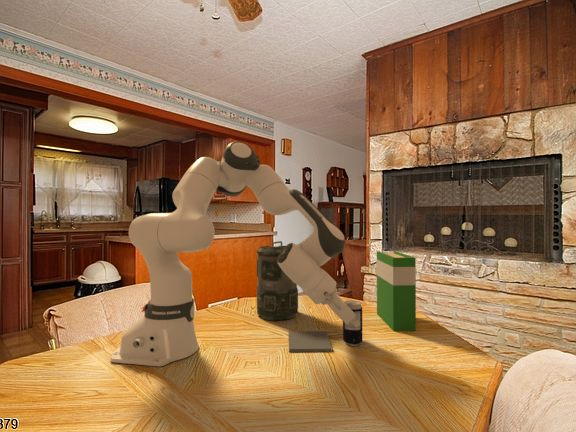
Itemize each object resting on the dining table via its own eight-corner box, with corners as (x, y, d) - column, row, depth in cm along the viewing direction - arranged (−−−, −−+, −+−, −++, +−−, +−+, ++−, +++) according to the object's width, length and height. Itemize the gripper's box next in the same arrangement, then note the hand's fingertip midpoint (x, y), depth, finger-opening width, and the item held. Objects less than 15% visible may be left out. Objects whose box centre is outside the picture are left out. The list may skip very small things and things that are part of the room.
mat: (289, 351, 87) (289, 349, 87) (288, 333, 100) (288, 331, 100) (331, 351, 87) (331, 348, 87) (325, 333, 100) (325, 331, 100)
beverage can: (366, 344, 92) (366, 303, 92) (352, 348, 89) (352, 306, 89) (352, 337, 97) (352, 299, 97) (338, 342, 93) (338, 302, 93)
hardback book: (376, 313, 120) (376, 251, 119) (396, 313, 120) (395, 251, 120) (393, 331, 102) (393, 257, 102) (415, 330, 102) (415, 257, 102)
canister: (287, 324, 109) (286, 244, 109) (248, 317, 116) (248, 242, 116) (304, 311, 123) (304, 240, 123) (269, 306, 130) (268, 239, 130)
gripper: (337, 289, 82) (374, 325, 83) (322, 274, 102) (352, 303, 103) (321, 307, 81) (357, 343, 82) (309, 288, 102) (339, 317, 103)
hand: (354, 320), depth 93 cm, fingers closed on beverage can, 6 cm apart
